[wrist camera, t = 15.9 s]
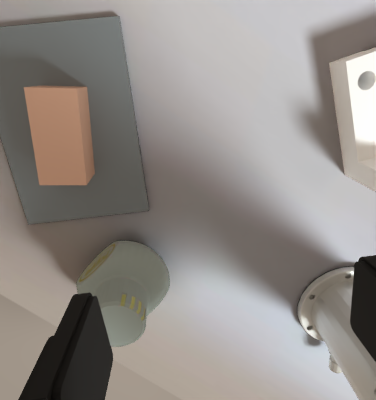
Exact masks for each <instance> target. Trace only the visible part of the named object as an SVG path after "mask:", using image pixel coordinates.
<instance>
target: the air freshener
mask: <svg viewBox="0 0 376 400" xmlns="http://www.w3.org/2000/svg"><path fill="white" fill-rule="evenodd" d="M76 285H77V292H78V294H82V293H89V292H90V293H91V294H92V296H97V298H98V301H99V305H100V308H101V312H102V316H103V320H104V323H105V327H106V331H107V334H108V338H109V342H110V345H111V347H121V346H125V345H128V344H131V343H133V342H135V341H136V340H138V339H139V338H140V337H141V336H142V334H143V333H144V330H145V327H146V316H147V315H148V314H150V313H151V312H152V311H153V310H154V309H155V308H156V307H157V306H158V305H159V303H160V302H161V301H162V300H163V298H164V297H165V295H166V293H167V292H168V289H169V286H170V278H169V272H168V269H167V267H166V265H165V263H164V261H163V260H162V258H161V257H160V256H159V255H158V254H157V253H156V252H155V251H153V250H152V249H151V248H149V247H147V246H145V245H143V244H140V243H137V242H133V241H115V242H113V243H112V244H110V245H109V246H108V247H107V248H105V249H104V250H103V251H102V252H101V253H100V254H99V255H98V256H97V257H96V258H95V259H94V260H93V261H92V262H91V263H90V264H89V265H88V266H87V268H86V269H85V270H84V271H83V273H82V274H81V275H80V277H79V279H78V281H77V283H76Z"/></svg>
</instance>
